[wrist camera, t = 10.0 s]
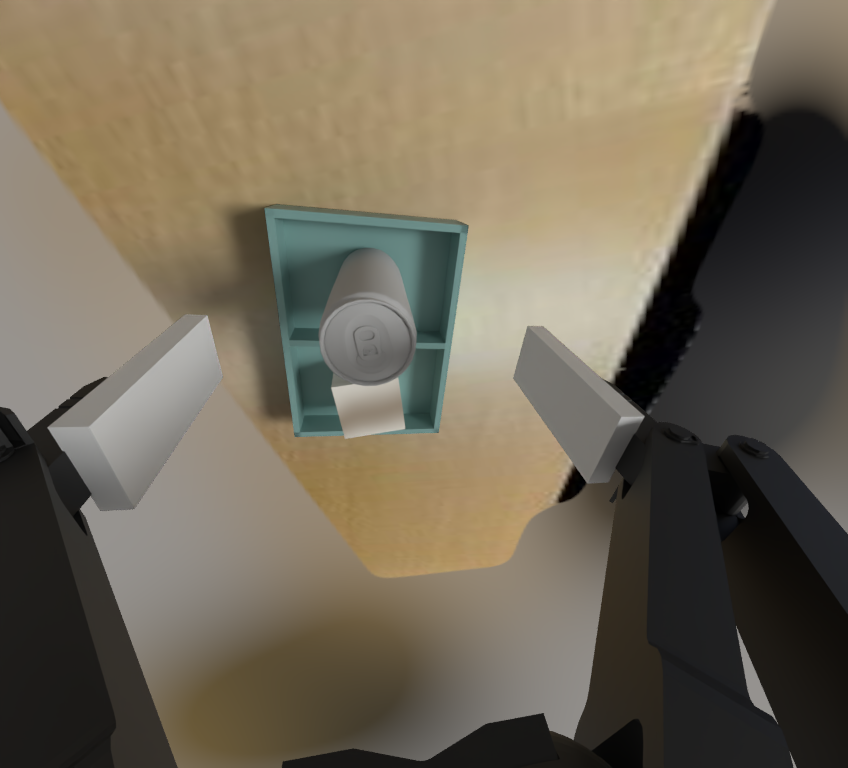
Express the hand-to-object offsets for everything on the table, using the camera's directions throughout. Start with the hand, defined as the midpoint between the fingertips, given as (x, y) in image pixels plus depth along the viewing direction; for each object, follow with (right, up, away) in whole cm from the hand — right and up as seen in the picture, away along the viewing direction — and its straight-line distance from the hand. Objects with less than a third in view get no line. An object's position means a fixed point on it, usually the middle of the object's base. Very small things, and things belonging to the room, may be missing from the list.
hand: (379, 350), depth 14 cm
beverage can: (-2, +7, +12) cm, 14 cm away
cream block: (-3, -1, +16) cm, 17 cm away
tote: (-3, +3, +15) cm, 15 cm away
